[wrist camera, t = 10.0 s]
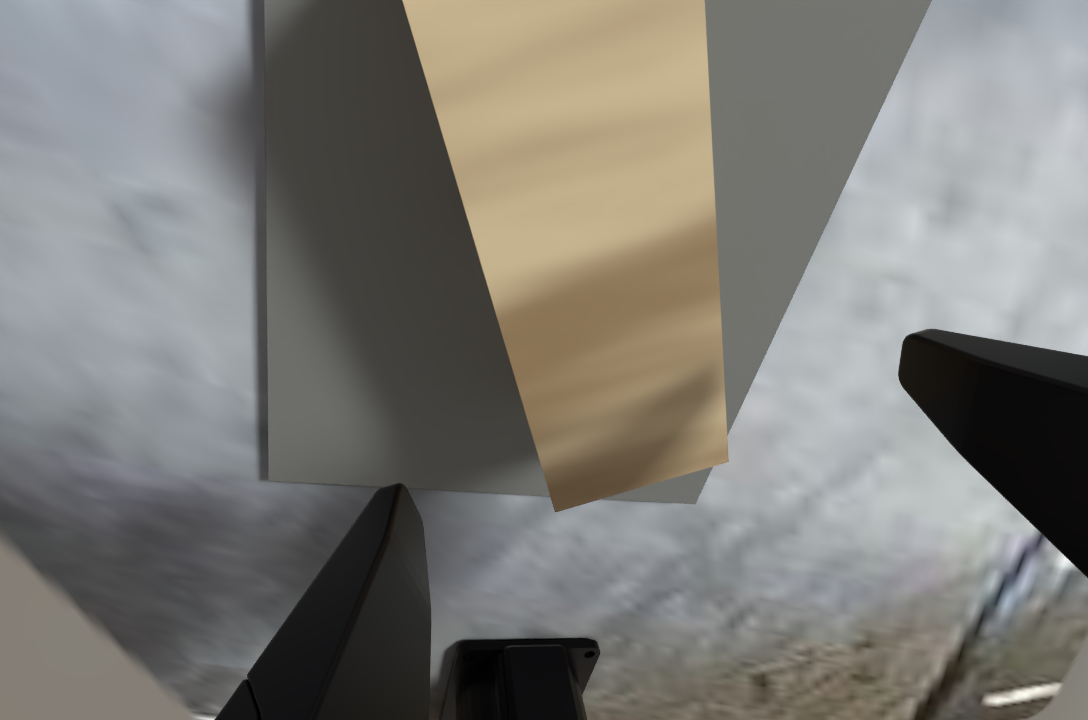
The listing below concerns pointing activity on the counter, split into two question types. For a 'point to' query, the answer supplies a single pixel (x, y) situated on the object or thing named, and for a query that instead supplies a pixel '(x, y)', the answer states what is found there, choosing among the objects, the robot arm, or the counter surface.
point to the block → (591, 223)
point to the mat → (450, 252)
